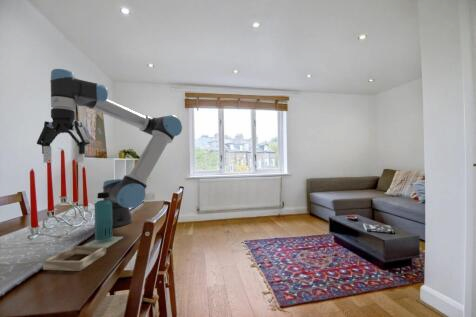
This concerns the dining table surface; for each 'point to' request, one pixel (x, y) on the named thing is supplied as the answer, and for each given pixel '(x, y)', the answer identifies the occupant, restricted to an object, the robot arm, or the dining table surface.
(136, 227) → the dining table surface
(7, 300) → the dining table surface
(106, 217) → the beverage bottle
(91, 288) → the dining table surface
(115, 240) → the rubber mat
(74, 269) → the wooden collar
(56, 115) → the robot arm
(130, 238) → the dining table surface
